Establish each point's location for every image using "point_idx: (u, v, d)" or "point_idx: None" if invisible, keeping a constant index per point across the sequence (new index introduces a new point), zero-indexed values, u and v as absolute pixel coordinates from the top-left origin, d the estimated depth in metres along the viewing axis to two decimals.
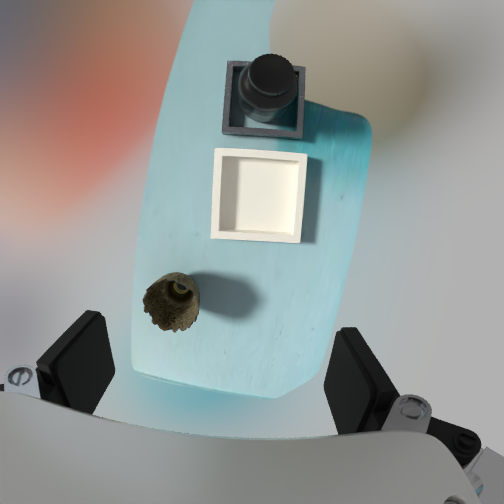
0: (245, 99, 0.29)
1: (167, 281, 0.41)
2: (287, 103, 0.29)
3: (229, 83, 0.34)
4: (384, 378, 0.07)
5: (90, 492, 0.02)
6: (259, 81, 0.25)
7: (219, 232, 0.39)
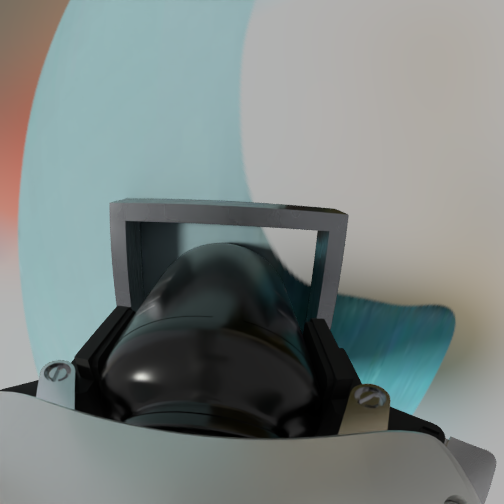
0: None
1: None
2: None
3: (123, 278, 0.13)
4: (343, 366, 0.08)
5: (90, 492, 0.02)
6: None
7: None
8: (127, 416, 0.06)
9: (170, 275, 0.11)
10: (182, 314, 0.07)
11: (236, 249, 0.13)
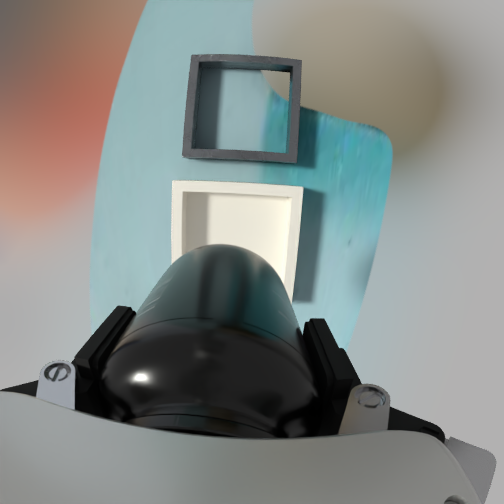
0: None
1: None
2: None
3: (193, 86, 0.24)
4: (343, 366, 0.08)
5: (90, 492, 0.02)
6: None
7: None
8: (127, 418, 0.06)
9: (170, 276, 0.11)
10: (182, 316, 0.07)
11: (236, 250, 0.13)
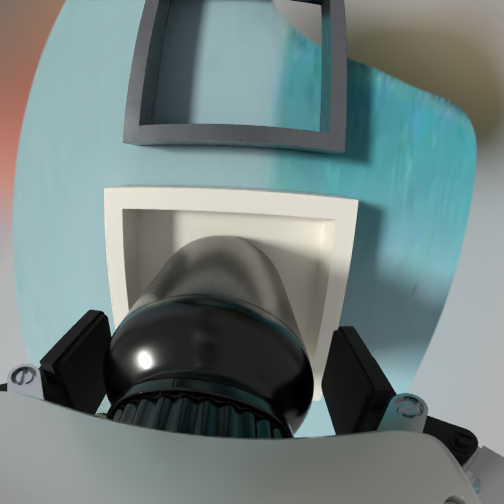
0: None
1: None
2: None
3: (150, 19, 0.10)
4: (380, 377, 0.07)
5: (90, 492, 0.02)
6: None
7: None
8: None
9: (171, 264, 0.11)
10: (181, 294, 0.08)
11: (233, 240, 0.14)
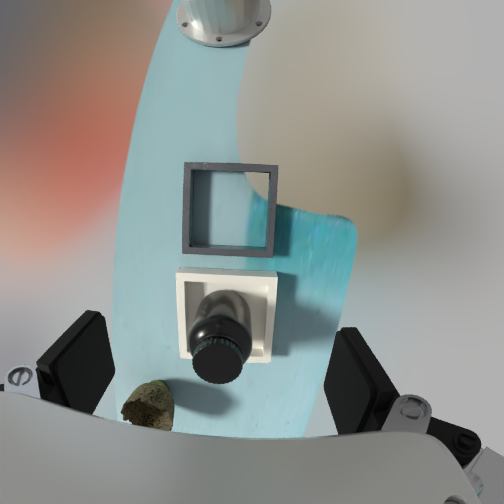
0: None
1: None
2: None
3: (187, 193, 0.32)
4: (384, 378, 0.07)
5: (90, 492, 0.02)
6: (204, 373, 0.25)
7: (188, 353, 0.36)
8: None
9: (206, 303, 0.32)
10: (214, 314, 0.29)
11: (228, 293, 0.35)
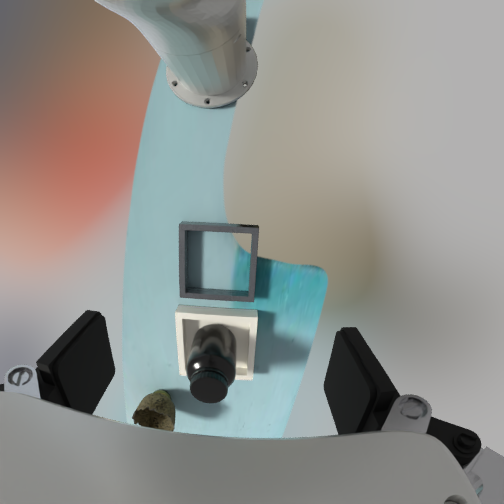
0: None
1: None
2: None
3: (182, 250, 0.39)
4: (384, 378, 0.07)
5: (90, 492, 0.02)
6: (199, 396, 0.33)
7: None
8: (195, 371, 0.35)
9: (200, 338, 0.40)
10: (205, 351, 0.36)
11: (218, 327, 0.42)
